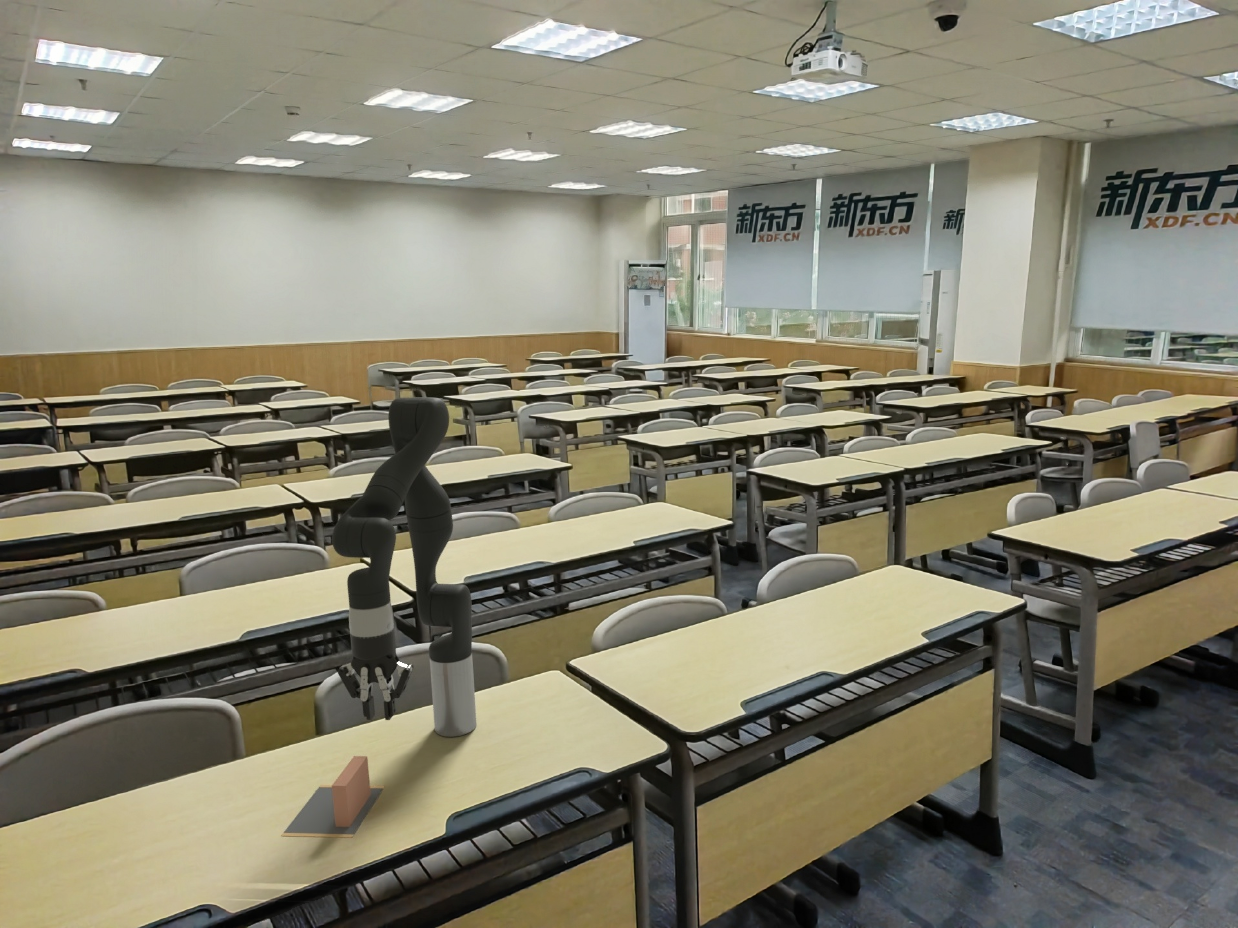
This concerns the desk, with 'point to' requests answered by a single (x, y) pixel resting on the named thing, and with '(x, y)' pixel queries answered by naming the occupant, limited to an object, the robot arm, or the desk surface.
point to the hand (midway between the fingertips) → (379, 717)
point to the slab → (351, 791)
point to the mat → (327, 816)
